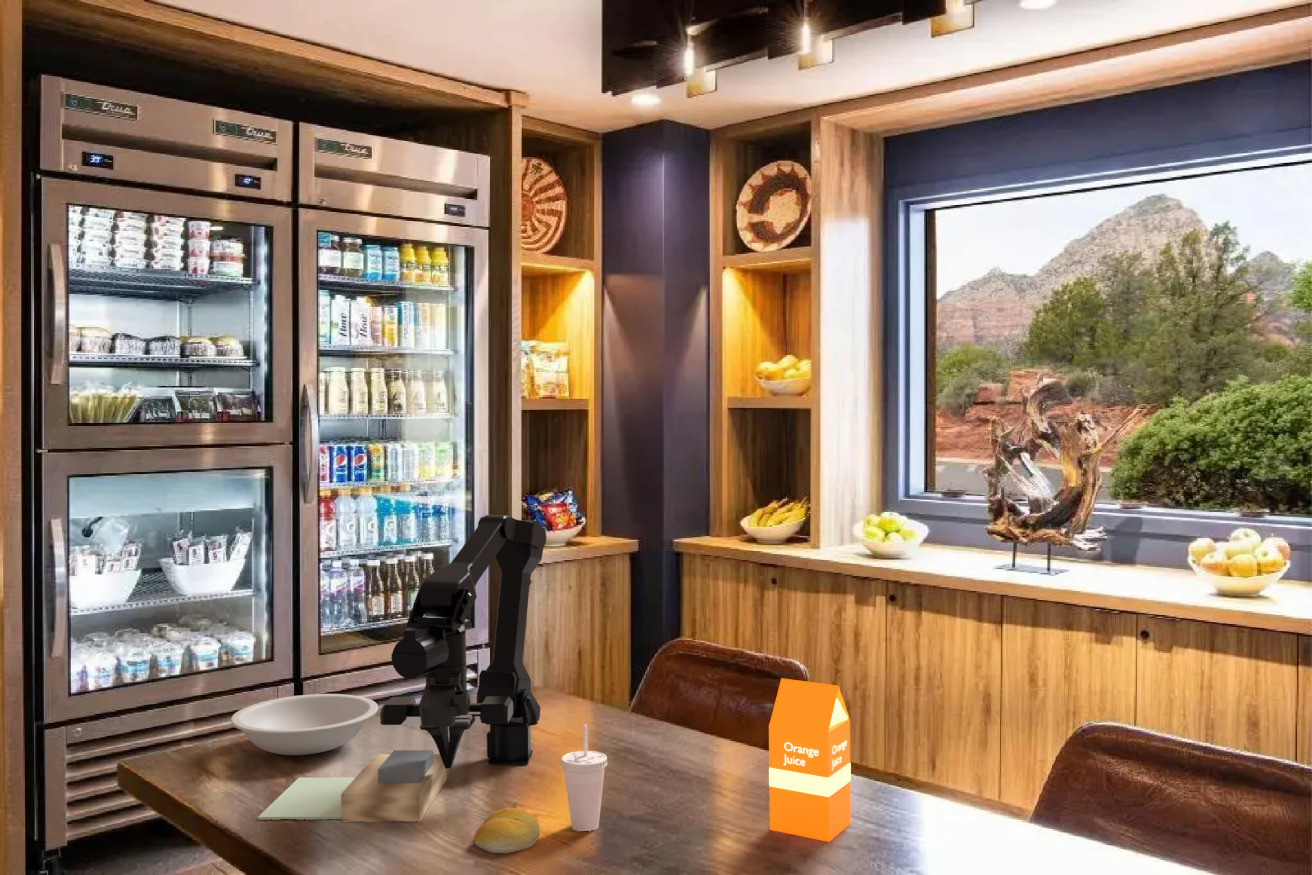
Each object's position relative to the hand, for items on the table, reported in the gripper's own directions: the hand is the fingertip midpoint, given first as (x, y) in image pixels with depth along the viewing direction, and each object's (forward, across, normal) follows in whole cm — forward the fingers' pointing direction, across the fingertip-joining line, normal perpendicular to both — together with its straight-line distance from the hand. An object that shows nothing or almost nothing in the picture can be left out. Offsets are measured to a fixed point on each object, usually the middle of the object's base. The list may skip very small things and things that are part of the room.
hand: (448, 767), depth 169 cm
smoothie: (+5, +21, -11) cm, 24 cm away
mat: (+5, -20, +1) cm, 20 cm away
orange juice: (+5, +52, -11) cm, 54 cm away
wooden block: (+5, -8, 0) cm, 9 cm away
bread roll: (+5, +11, -16) cm, 20 cm away
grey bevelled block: (+1, -6, 0) cm, 6 cm away
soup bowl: (+5, -30, +25) cm, 39 cm away
